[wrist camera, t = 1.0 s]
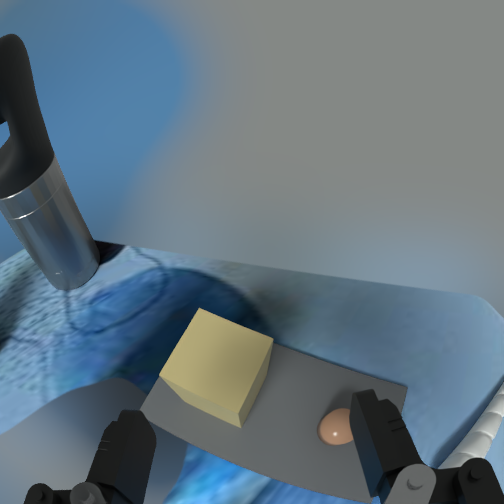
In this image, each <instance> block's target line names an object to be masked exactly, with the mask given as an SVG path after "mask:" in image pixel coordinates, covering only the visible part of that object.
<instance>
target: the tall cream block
mask: <svg viewBox="0 0 504 504" xmlns="http://www.w3.org/2000/svg"><path fill="white" fill-rule="evenodd" d="M272 345H273V338H271V337H268V336H266V335H263V334H261V333H258V332H256V331H253V330H251V329H248V328H246V327H243V326H241V325H238V324H236V323H233V322H231V321H228V320H226V319H224V318H221V317H219V316H217V315H214V314H212V313H210V312H207V311H205V310H203V309H200V308H199V310H198V311H197V313H196V314H195V316H194V318H193V319H192V321H191V323H190V324H189V326H188V328H187V329H186V331H185V333H184V334H183V336H182V337H181V339H180V341H179V342H178V344H177V346H176V347H175V349H174V351H173V352H172V354H171V356H170V357H169V359H168V361H167V362H166V364H165V366H164V367H163V369H162V371H161V372H160V374H159V375H160V377H161V378H162V379H163V380H164V381H165V382H166V383H167V384H168V385H169V386H170V387H171V388H172V389H173V390H174V391H175V392H176V393H177V394H178V395H179V396H180V398H181V399H182V400H183V401H184V402H186V403H188V404H190V405H192V406H194V407H196V408H198V409H200V410H202V411H204V412H206V413H209V414H211V415H213V416H215V417H217V418H219V419H221V420H224V421H226V422H228V423H230V424H233V425H235V426H237V427H240V428H242V426H243V424H244V422H245V420H246V418H247V416H248V413H249V411H250V409H251V407H252V405H253V403H254V401H255V399H256V397H257V395H258V393H259V390H260V388H261V386H262V384H263V382H264V380H265V378H266V375H267V371H268V366H269V360H270V355H271V350H272Z"/></svg>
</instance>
